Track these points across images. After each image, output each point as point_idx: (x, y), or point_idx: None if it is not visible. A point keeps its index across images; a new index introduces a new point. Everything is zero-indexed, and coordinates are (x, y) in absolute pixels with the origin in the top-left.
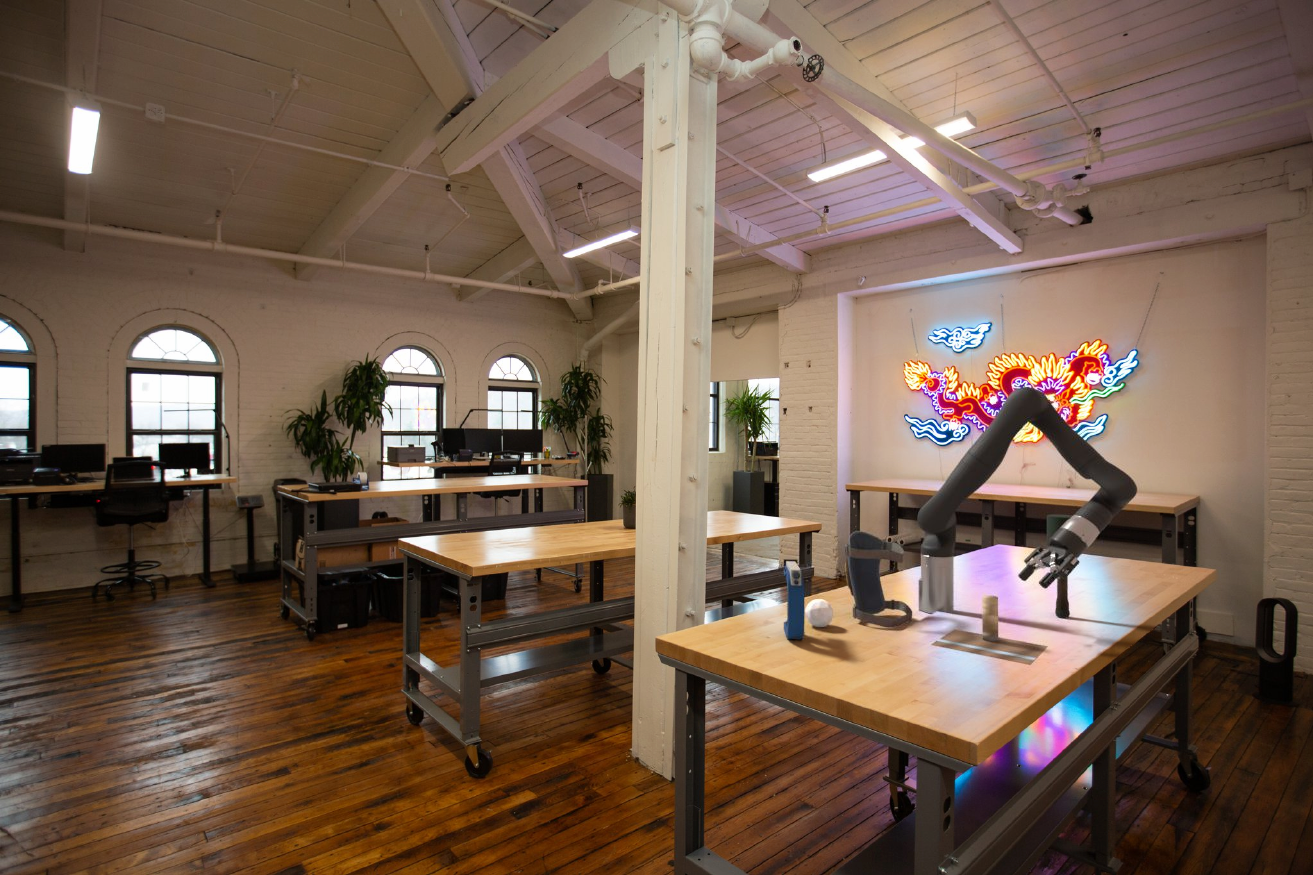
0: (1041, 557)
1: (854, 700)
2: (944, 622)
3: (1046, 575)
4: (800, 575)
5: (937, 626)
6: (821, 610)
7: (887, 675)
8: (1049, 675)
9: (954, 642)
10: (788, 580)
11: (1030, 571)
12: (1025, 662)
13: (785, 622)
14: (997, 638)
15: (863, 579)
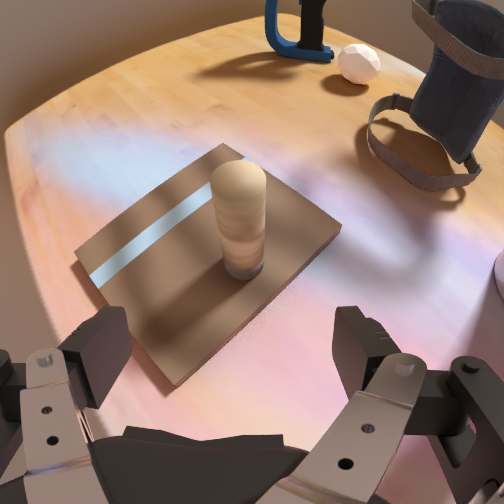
0: (310, 457)
1: (98, 75)
2: (440, 258)
3: (81, 334)
4: None
5: (404, 228)
6: (341, 53)
7: (139, 93)
8: (55, 280)
9: None
10: None
11: (353, 383)
12: (85, 251)
13: (325, 46)
14: (226, 268)
15: (475, 96)
